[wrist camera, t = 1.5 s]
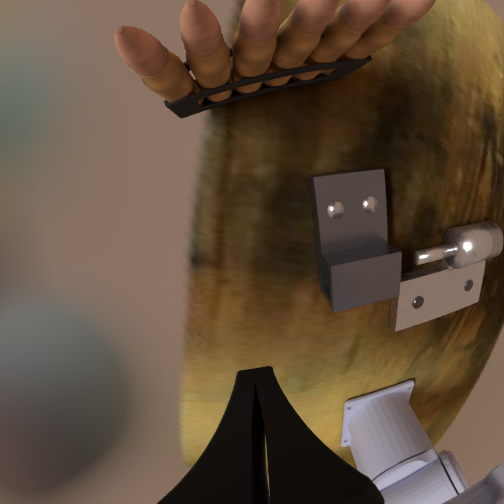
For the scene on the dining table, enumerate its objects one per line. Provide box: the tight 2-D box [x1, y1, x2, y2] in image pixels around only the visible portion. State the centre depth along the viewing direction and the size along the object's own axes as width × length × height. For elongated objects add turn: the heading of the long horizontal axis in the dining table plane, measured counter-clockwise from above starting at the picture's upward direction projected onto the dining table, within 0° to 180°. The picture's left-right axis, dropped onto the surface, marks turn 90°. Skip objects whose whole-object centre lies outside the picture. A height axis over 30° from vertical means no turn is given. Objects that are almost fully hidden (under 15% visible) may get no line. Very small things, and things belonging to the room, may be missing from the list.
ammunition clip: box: [115, 0, 436, 118], centre depth 10 cm, size 11×2×12 cm, turn 106°
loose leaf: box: [309, 167, 402, 312], centre depth 18 cm, size 8×5×3 cm, turn 10°
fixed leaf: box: [389, 220, 503, 332], centre depth 19 cm, size 8×10×3 cm
